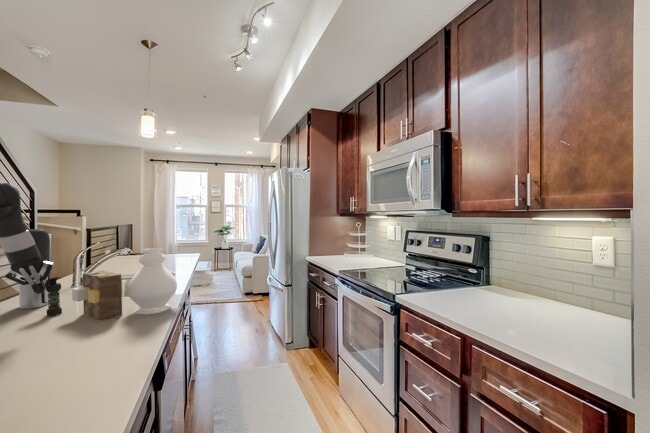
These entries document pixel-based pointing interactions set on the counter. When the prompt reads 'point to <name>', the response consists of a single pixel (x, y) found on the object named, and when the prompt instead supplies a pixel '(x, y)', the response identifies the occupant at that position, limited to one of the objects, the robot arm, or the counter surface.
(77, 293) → the ivory button
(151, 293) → the decorative vase
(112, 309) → the brown wooden block
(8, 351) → the counter surface
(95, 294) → the mustard button
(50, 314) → the grenade
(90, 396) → the counter surface
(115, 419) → the counter surface
